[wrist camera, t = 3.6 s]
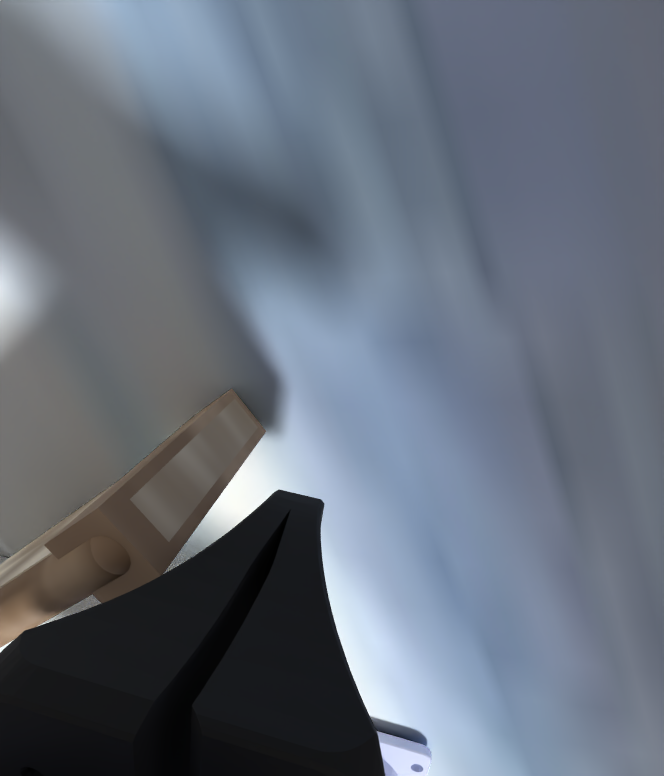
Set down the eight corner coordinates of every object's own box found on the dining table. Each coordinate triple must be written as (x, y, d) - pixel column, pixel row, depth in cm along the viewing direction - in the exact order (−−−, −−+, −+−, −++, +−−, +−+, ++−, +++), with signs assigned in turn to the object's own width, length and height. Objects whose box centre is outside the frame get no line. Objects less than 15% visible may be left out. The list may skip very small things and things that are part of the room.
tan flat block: (33, 581, 19) (-148, 750, 13) (3, 552, 19) (-196, 711, 13) (266, 430, 14) (154, 585, 8) (231, 388, 14) (88, 515, 8)
